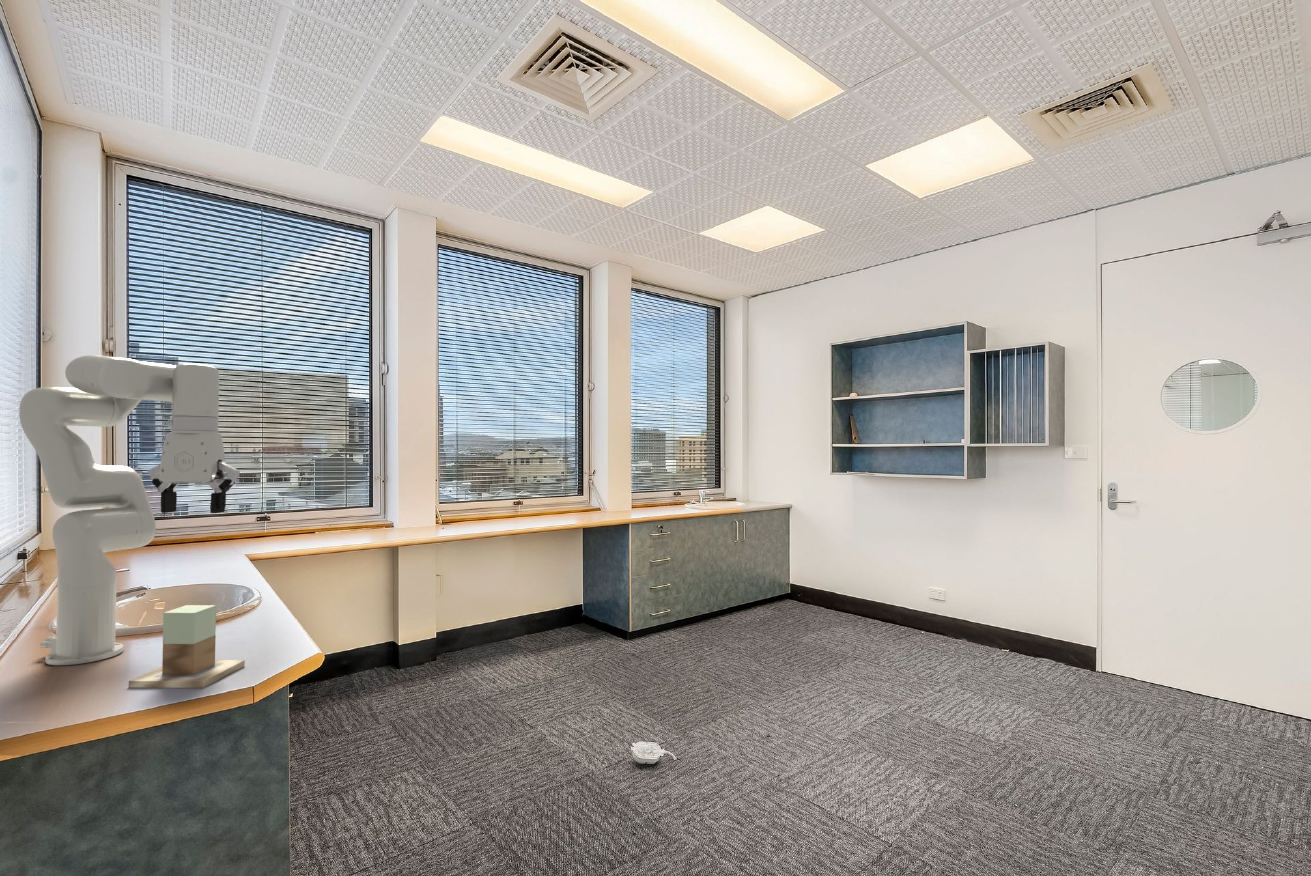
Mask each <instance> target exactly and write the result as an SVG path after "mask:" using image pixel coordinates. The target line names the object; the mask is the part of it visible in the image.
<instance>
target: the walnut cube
mask: <svg viewBox="0 0 1311 876" xmlns="http://www.w3.org/2000/svg"><path fill="white" fill-rule="evenodd" d="M216 637H217V635H216V634H215V635H214V636H212V637H210V638H207V639H205V640H203V641H200V642H198V643H195V644H163V643H162V660H161V661H162V662H161V664H162V665H161V667H162V675H196V674H198V673H200V672H202V671H204V670H206V669H208V668H210V667H212V666H214V665H215V660H216V641H217V640H216V639H217V638H216Z"/></svg>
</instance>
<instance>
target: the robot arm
mask: <svg viewBox="0 0 1311 876" xmlns="http://www.w3.org/2000/svg"><path fill="white" fill-rule="evenodd" d="M64 372H65V373H64V374H65V378H66V381H67V382H68V383H69V384H70V385H71V386H72V387H66V386H65V387H63V386H62V387H61V386H43V387H38V388H33V389H31V390H29V391H27V392H26V393H24V395H23V397H22V398H21V400H20V404H19V409H18V410H19V413H18V414H19V415H18V416H19V420H20V426H21V428H22V431H23V433H24V434H25V436H26V438H27V439H28V441H29V442H30V444H31V446H32V447H33V449H34V450H35V452H36V454H37V457H38V458H39V462H40V465H41V469H42V472H43V476H44V478H45V482H46V485H47V489H48V491H49V495H50V497H51V499H52V501H53V503H54V504H55V505H56V506H57V507H60V508H63V509H68V510H69V509H71V510H73V509H75V511H72V512H68V513H66V514H64V515H61V516H60V517H59V518H58V519H57V520H56V521H55V523H54V525H53V527H52V540H53V545H54V550H55V555H56V564H57V601H56V631H55V634H56V635H54V636H50V635H49V636H47V637H46V638H45V639H44V640H43V641H41V642H40V644H39V646H40V648H41V649H50V653H49V654H47V655H46V656H45V657H44V658H45V659H44V660H45V661H44V662H45V663H46V664H47V665H49V666H50V665H51V666H72V665H81V664H88V663H93V662H98V661H102V660H105V659H110V658H112V657H115V656H117V655H120V654H121V653H122V652H124V650H125V644H123V643H121V642H116V619H117V618H116V617H117V615H116V614H117V582H118V581H117V580H118V579H117V578H118V577H117V576H118V575H117V569H116V567H115V565H114V564H113V563H112V562H111V561H110V560H109V559H108V558H107V557H106V555H105V554H106V553H109V552H115V551H122V550H123V551H124V550H130V549H132V550H133V549H138V548H142V547H145V546H147V545H148V544H150V543H151V542H152V541H153V539H154V538H155V535H156V531H157V526H156V520H155V516H154V513H153V509H152V507H151V506H152V505H151V504H150V500H149V497H148V494H147V492H146V488H145V485H144V482H143V480H142V478H141V476H140V474H139V473H138V472H137V471H136V470H135V469H134V468H132V467H130V466H126V465H120V464H119V465H113V464H112V465H111V464H109V465H108V464H107V465H103V464H102V465H101V464H97V463H96V462H95V460H94V457H93V455H92V451H91V448H90V446H89V445H88V444H87V442H86V441H85V440H84V439H83V438H81V436H79V435H78V434H77V433H75V432H74V431H73V430H71V429H69V428H68V427H67V426H74V427H75V426H78V427H99V428H104V427H105V428H106V427H107V428H111V427H114V426H118V425H120V424H121V423H122V422H123V421H125V420H126V419H127V418H128V416H130V414H131V413H132V412H133V411H134V410H135V409H136V407H137V406H138V405H139V404H140V403H141V402H142V401H155V402H167V403H171V419H170V420H167V422H166V426H167V427H168V428H171V432H167V433H166V436H165V438H164V442H163V445H162V452H161V459H160V464H158V465H156V466H154V467H152V468H150V469H149V470H147V473H148V475H149V477H150V480H152V481H151V483H152V484H153V486H154V487H156V490H157V493H160V512H161V513H162V514H167V513H174V512H176V511H177V504H178V503H177V501H178V498H177V497H178V496H177V495H178V493H177V491H174V490H175V489H176V488H177V487H178V486H179V485H180V484H208V485H209V487H210V488H211V489H212V491H213V492H211V493H210V513H211V514H220V513H224V512H225V510H226V506H227V503H226V502H227V493H229V492H230V489H231V488H232V487H233V486H234V485H235V483H236V481H237V478H238V476H239V475H240V474H241V473H240V472H241V471H240V470H239V469H237V468H236V467H233V466H232V465H230V464H228V463H226V460H225V459H226V458H225V457H226V456H225V448H224V442H223V438H222V433H219V410H220V408H219V406H220V403H219V402H220V372H219V369H218V368H216V367H215V366H213V365H208V364H202V363H179V364H177V365H173V364H167V363H158V362H149V361H141V360H136V359H132V358H130V357H128V358H127V357H126V358H125V357H118V356H107V355H96V354H95V355H82V356H79V357H76V358H74V359H73V360H71V361H70V362H69V363H68V364H67V365H66V367H65V371H64ZM225 473H226V474H225ZM225 475H227V476H226V479H225ZM95 508H96V509H95ZM76 509H83V510H76Z"/></svg>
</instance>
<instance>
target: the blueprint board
mask: <svg viewBox="0 0 1311 876" xmlns="http://www.w3.org/2000/svg"><path fill="white" fill-rule="evenodd" d="M245 663H246V661H245V660H244V659H215V665H214V666H212V667H210V668H208V669H206V670H204V671H202V672H200V673H198V674H196V675H162V666H160V667H158V668H157V667H156V668H155V669H153V670H150V671H148V672H147V673H143V674H142V675H139V676H137V677H135V678H131V679H130V680H128V686H127V687H128V688H145V689H146V688H147V689H148V688H151V689H152V688H153V689H154V688H157V689H161V688H163V689H164V688H167V689H168V688H171V689H172V688H174V689H177V688H179V689H182V688H183V689H185V688H186V689H201V688H203V689H204V688H205V687H207V686H209V685H211V684H213V683H215V682H217V681H219V680H220V679H221V680H222V678H224V677H227V676H228V675H229V676H230V675H231V674H232V673H234V672H236V671H238V670H240V669H241V668H243V667H245V665H246V664H245Z"/></svg>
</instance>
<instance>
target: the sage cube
mask: <svg viewBox="0 0 1311 876" xmlns="http://www.w3.org/2000/svg"><path fill="white" fill-rule="evenodd" d="M162 619H163V620H162V621H163V622H162V645H163V644H195V643H198V642H200V641H203V640H205V639H207V638H210V637H212V636H214V635H216V630H217V628H216V626H217V625H216V623H217V622H216V620H217V605H215V604H211V605H208V604H205V605H202V604H192V605H191V604H186V605H183V606H179V607H177V608H174V609H169V610H167V611H164V612H163V618H162Z"/></svg>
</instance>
